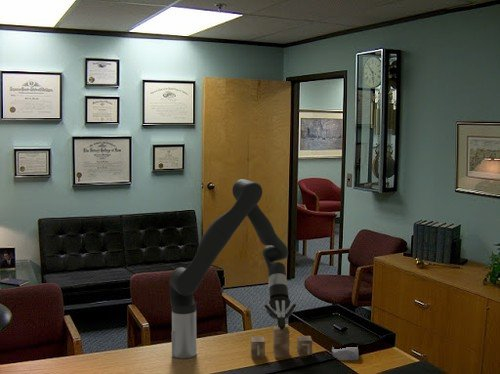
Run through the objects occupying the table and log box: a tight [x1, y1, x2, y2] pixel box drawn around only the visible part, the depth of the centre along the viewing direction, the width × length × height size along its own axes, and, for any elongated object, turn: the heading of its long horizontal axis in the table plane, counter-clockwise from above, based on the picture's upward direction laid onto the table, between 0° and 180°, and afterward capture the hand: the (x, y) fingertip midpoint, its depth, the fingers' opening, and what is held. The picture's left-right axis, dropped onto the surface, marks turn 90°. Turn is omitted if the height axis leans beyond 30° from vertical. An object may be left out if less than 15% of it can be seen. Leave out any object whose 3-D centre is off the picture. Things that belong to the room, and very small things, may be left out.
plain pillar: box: [272, 326, 291, 359], centre depth 220 cm, size 6×6×10 cm
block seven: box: [296, 335, 313, 357], centre depth 220 cm, size 5×5×6 cm
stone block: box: [331, 346, 359, 361], centre depth 221 cm, size 12×5×10 cm
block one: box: [250, 336, 266, 359], centre depth 219 cm, size 5×5×6 cm
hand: (281, 327), depth 219 cm, fingers closed
